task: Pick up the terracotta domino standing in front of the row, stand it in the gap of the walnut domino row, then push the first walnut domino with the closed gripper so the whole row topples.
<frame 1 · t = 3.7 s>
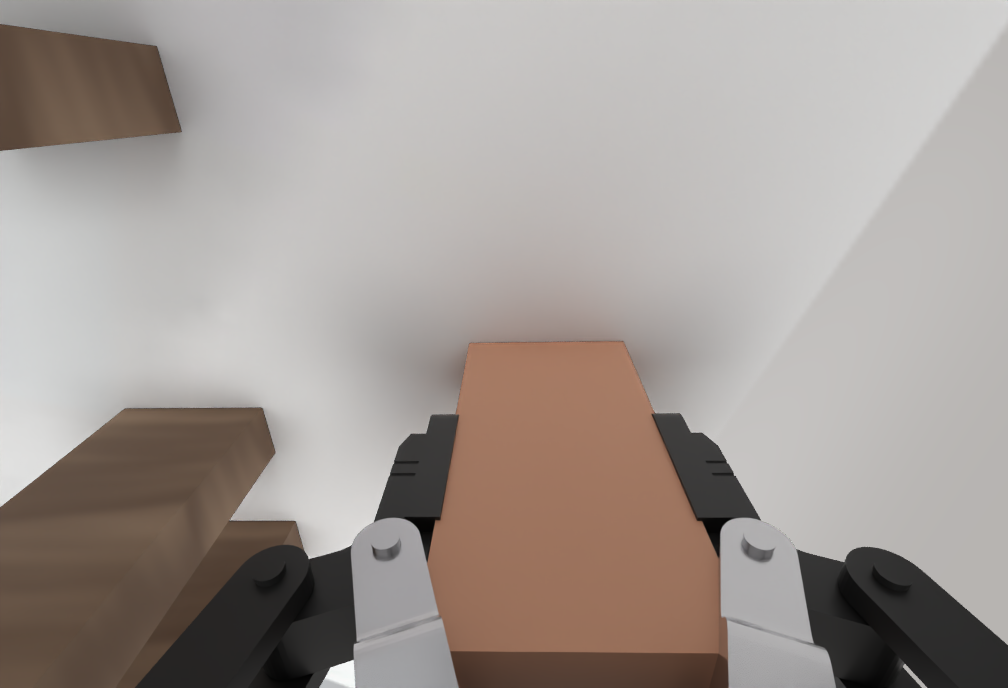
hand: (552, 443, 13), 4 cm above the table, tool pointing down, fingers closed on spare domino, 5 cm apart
domino 4: (201, 431, 18), on the table
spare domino: (545, 368, 16), on the table, touching gripper
domino 2: (77, 93, 13), on the table
domino 5: (241, 538, 20), on the table
when the fingers open (5 cm above the table, at t = 10.1 s): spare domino stays where it is, on the table.
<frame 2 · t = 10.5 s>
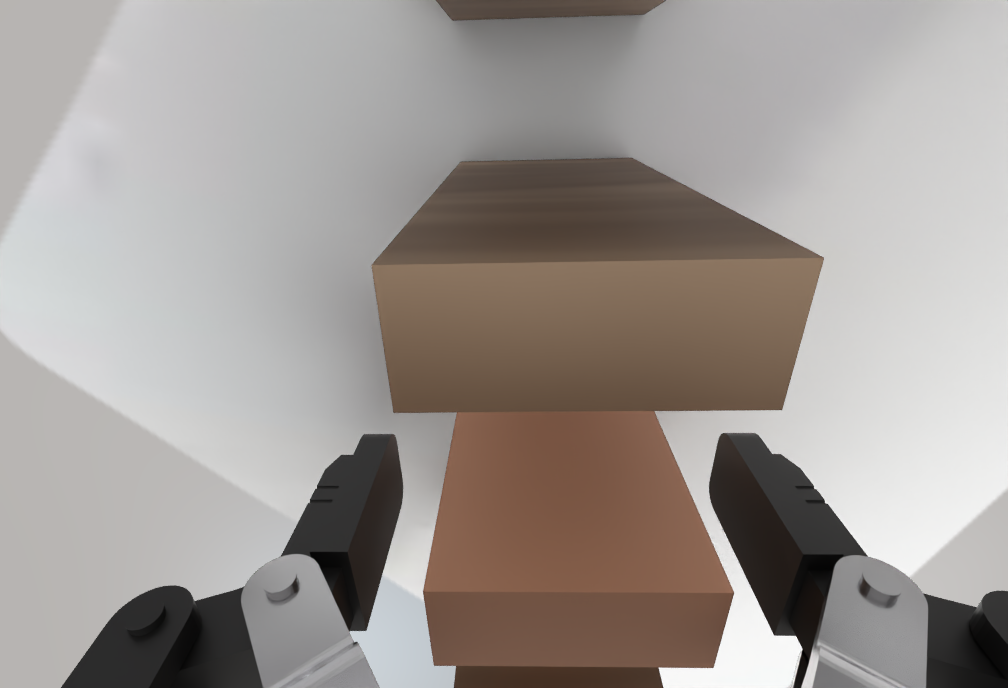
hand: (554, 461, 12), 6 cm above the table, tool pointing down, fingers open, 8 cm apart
domino 4: (541, 476, 20), on the table
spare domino: (544, 356, 17), on the table
domino 2: (545, 194, 15), on the table
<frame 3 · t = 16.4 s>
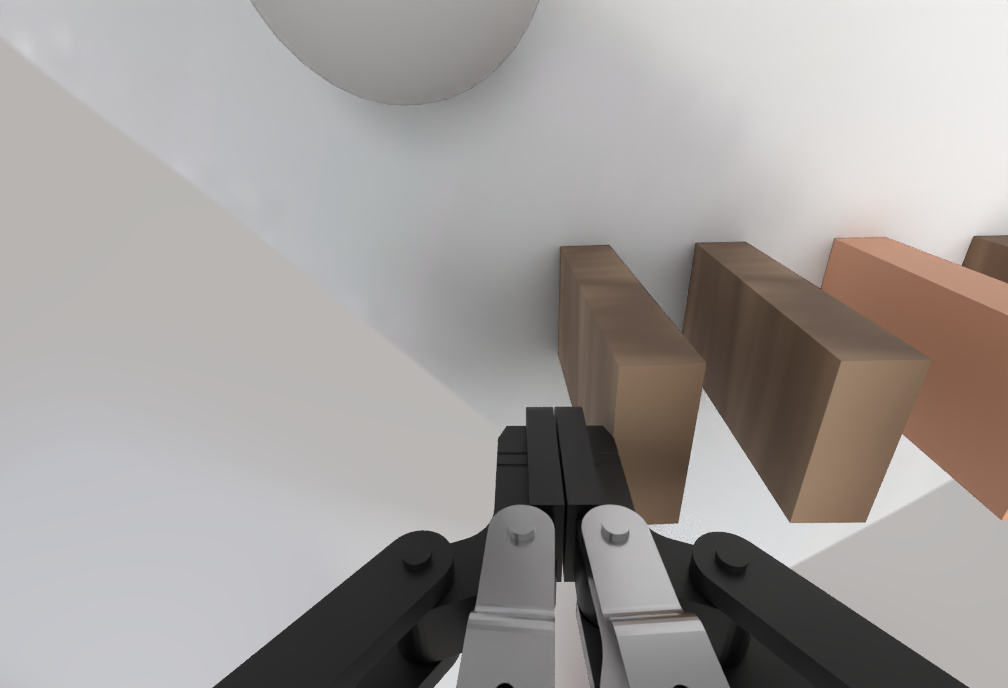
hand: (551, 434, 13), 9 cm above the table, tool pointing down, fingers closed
domino 1: (582, 302, 21), on the table, touching gripper
domino 4: (974, 294, 21), on the table
lightbulb: (446, 1, 17), on the table
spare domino: (842, 295, 21), on the table
domino 2: (710, 299, 21), on the table
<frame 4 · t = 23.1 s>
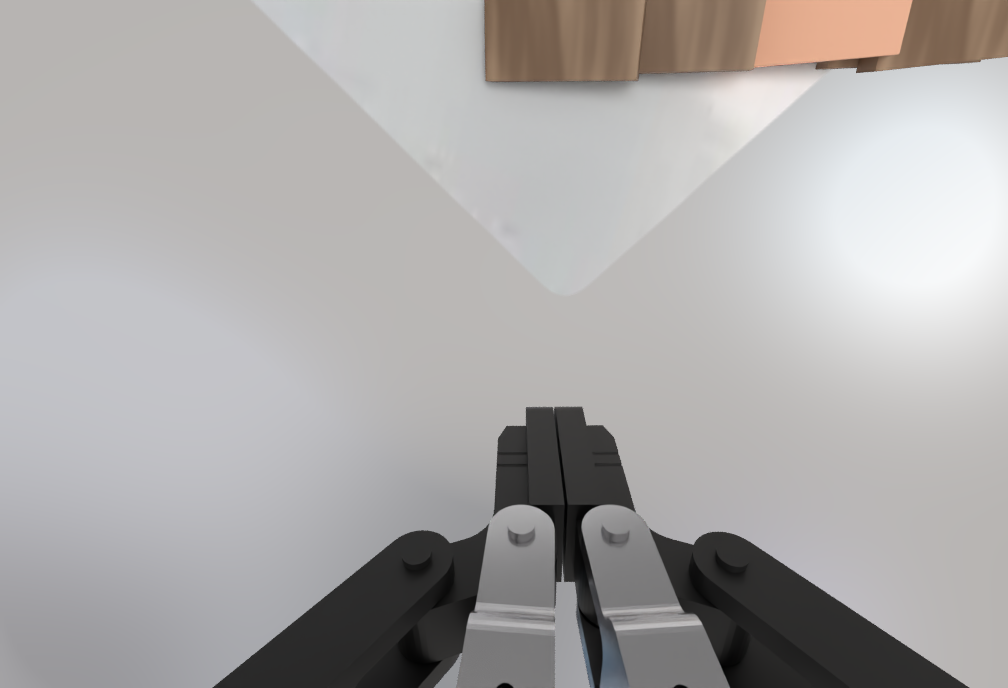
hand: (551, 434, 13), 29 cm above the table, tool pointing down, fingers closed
domino 1: (489, 39, 33), point 1 cm above the table, tilted 74°, touching domino 2
domino 4: (874, 27, 31), point 2 cm above the table, tilted 90°, touching domino 5, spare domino
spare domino: (722, 27, 33), point 1 cm above the table, tilted 68°, touching domino 4
domino 2: (596, 32, 33), point 1 cm above the table, tilted 74°, touching domino 1
domino 5: (828, 26, 33), on the table, tilted 90°, touching domino 4
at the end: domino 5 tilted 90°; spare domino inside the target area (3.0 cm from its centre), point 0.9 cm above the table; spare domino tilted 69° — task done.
